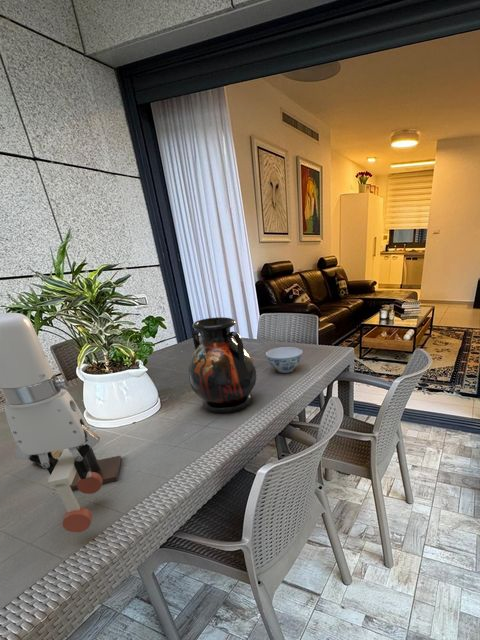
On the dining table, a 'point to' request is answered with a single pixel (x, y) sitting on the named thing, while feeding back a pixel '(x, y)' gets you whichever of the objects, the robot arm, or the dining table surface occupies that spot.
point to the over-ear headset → (61, 481)
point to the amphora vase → (221, 366)
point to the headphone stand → (100, 468)
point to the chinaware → (284, 358)
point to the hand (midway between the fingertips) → (73, 476)
